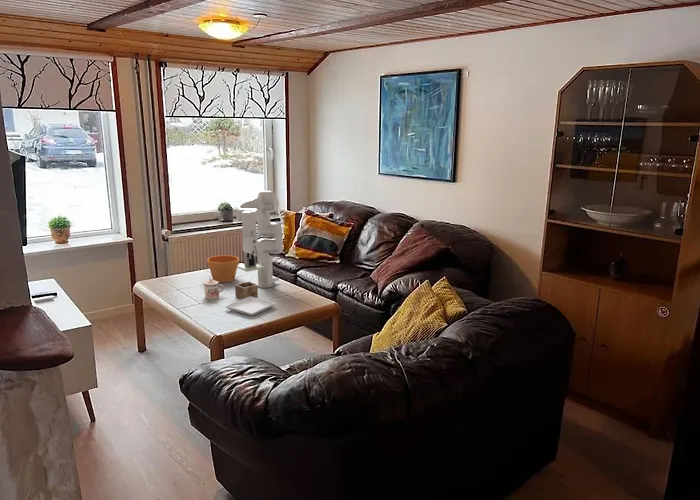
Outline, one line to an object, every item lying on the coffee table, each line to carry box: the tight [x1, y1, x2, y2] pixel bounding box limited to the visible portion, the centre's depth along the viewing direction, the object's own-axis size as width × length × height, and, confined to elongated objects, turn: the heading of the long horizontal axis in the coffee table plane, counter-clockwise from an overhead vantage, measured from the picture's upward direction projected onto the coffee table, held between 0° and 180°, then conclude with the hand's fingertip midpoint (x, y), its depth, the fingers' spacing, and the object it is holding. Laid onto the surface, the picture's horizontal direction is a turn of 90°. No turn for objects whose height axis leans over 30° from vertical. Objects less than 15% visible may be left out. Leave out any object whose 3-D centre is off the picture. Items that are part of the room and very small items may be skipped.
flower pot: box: [206, 254, 240, 283], centre depth 370 cm, size 21×21×15 cm
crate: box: [234, 281, 259, 300], centre depth 335 cm, size 10×10×8 cm
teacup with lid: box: [203, 278, 224, 300], centre depth 335 cm, size 12×9×12 cm
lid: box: [237, 256, 264, 273], centre depth 306 cm, size 11×11×6 cm
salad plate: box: [225, 296, 277, 316], centre depth 315 cm, size 21×21×3 cm
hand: (250, 264), depth 307 cm, fingers closed on lid, 2 cm apart
